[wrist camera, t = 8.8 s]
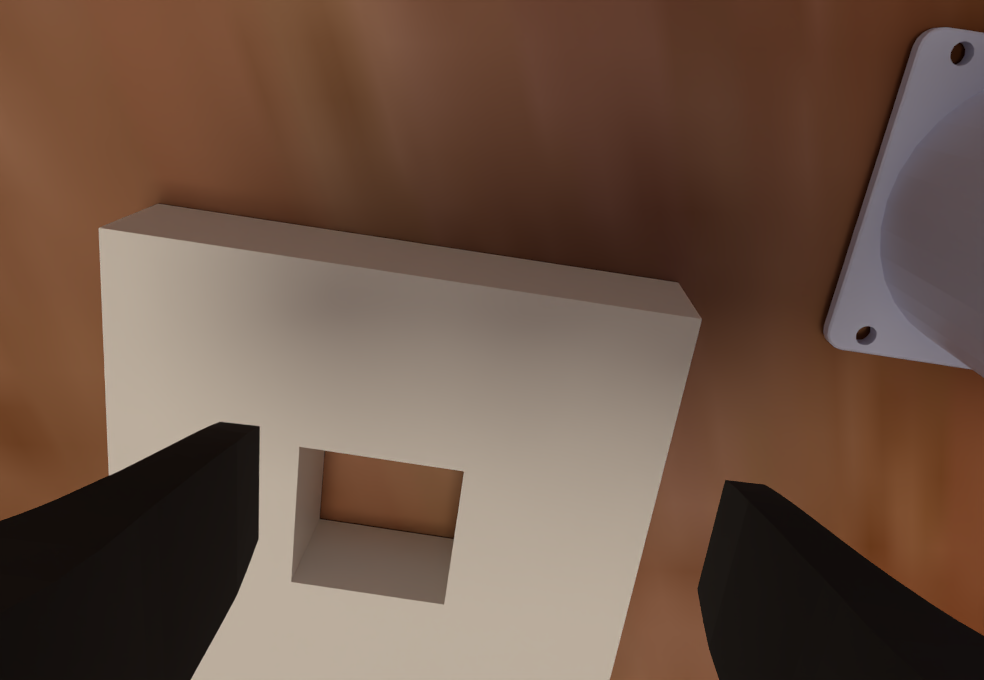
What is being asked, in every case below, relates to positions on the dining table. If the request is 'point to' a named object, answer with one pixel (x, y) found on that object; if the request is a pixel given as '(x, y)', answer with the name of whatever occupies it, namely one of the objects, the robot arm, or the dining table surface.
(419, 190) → the dining table surface
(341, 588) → the key housing
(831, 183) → the dining table surface
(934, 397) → the dining table surface
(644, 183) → the dining table surface
